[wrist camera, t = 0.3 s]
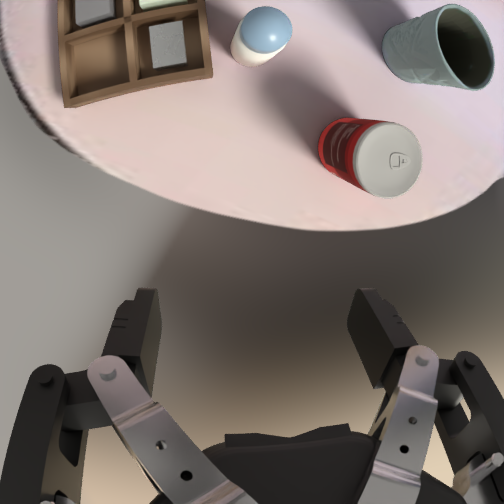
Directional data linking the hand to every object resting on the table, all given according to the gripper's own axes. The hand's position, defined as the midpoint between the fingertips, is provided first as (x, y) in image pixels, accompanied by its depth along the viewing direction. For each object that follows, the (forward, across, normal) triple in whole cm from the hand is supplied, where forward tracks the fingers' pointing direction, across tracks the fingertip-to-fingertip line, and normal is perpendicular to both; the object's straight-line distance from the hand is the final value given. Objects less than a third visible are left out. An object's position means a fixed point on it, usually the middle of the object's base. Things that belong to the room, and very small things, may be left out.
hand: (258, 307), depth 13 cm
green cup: (+30, -23, -16) cm, 41 cm away
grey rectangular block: (+27, +8, -13) cm, 31 cm away
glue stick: (+28, -1, -13) cm, 31 cm away
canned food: (+28, -14, -2) cm, 32 cm away
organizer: (+28, +12, -16) cm, 34 cm away
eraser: (+28, +17, -19) cm, 37 cm away
